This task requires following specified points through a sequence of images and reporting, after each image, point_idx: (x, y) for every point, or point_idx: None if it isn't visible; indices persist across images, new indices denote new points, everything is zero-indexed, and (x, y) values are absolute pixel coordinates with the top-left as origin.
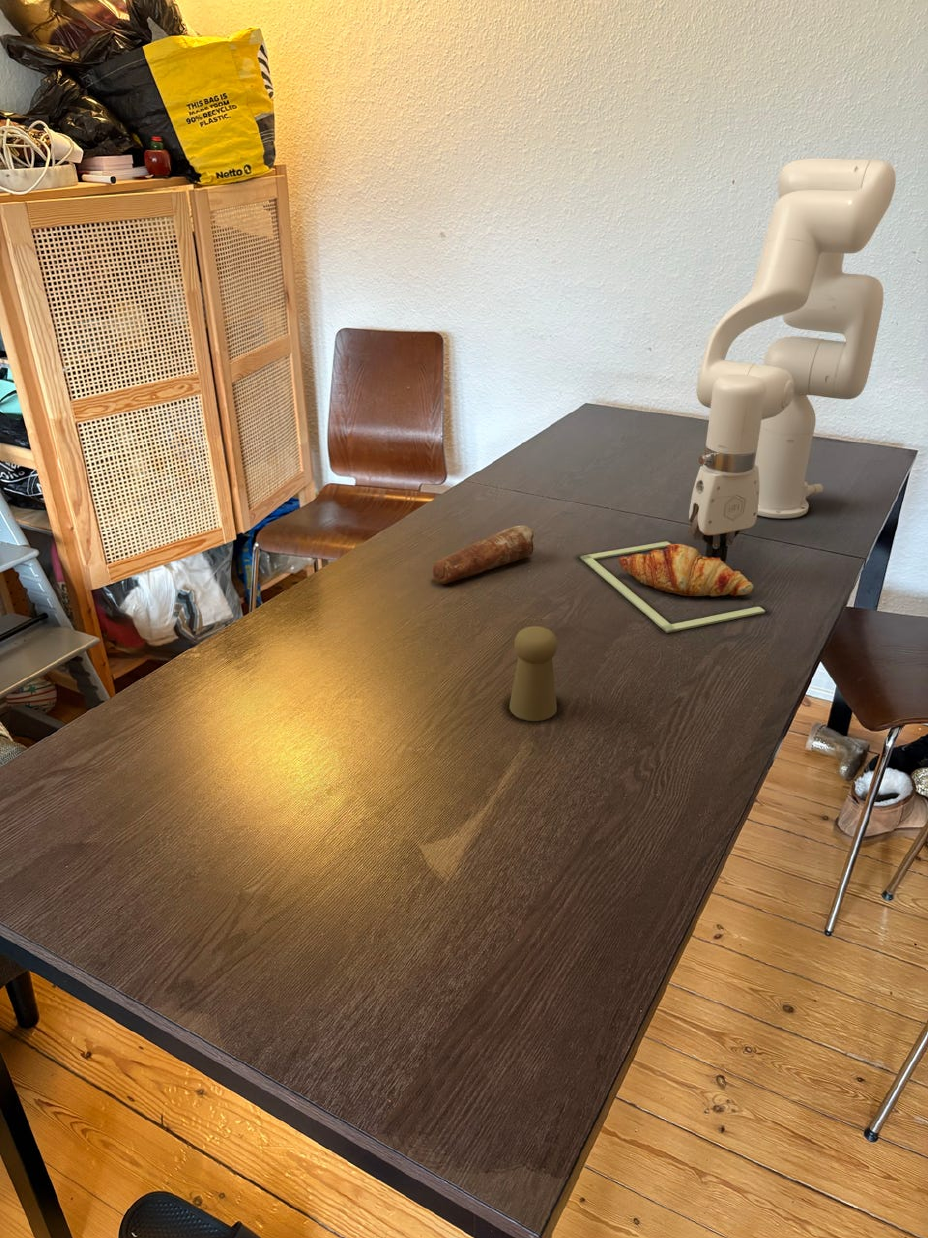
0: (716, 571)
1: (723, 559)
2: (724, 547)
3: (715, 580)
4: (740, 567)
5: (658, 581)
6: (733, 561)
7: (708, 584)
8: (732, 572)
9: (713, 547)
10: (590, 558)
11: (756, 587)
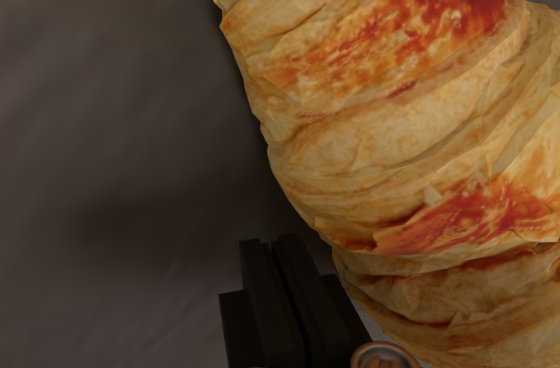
0: (511, 67)
1: (272, 278)
2: (291, 357)
3: (518, 6)
4: (60, 304)
5: None
6: (69, 364)
7: (546, 7)
8: (386, 27)
9: (405, 350)
10: None
11: (80, 51)
